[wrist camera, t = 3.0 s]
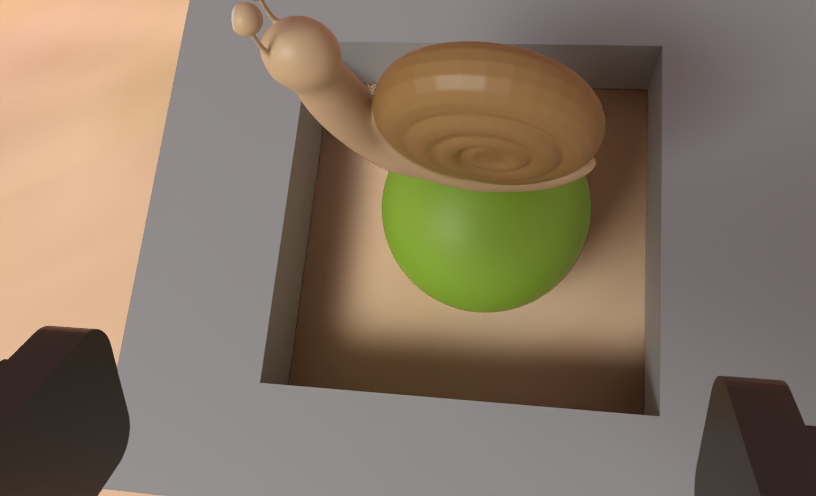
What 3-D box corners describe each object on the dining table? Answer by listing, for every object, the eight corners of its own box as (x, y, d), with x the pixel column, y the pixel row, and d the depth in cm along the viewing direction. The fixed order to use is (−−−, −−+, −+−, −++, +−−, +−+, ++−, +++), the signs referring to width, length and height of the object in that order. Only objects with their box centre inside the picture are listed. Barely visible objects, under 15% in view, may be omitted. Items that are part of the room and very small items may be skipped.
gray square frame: (783, 4, 24) (812, -49, 22) (806, 559, 20) (847, 570, 17) (227, 1, 27) (198, -46, 24) (138, 486, 22) (93, 487, 20)
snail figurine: (381, 144, 24) (262, -151, 13) (590, 162, 23) (659, -142, 12) (352, 313, 23) (189, 148, 12) (573, 341, 22) (633, 189, 10)
